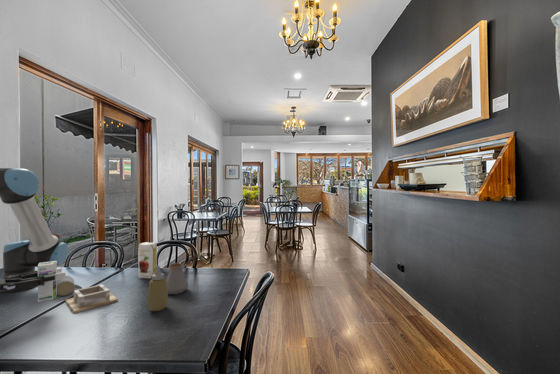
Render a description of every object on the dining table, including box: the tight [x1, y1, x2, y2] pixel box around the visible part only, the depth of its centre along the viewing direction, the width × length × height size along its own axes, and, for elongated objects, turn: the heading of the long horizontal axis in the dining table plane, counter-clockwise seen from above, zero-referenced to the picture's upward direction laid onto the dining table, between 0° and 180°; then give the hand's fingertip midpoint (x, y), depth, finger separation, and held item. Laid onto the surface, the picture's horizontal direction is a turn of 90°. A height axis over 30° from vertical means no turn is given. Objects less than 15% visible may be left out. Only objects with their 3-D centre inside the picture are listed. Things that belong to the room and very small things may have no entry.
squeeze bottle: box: [146, 265, 169, 312], centre depth 116 cm, size 8×8×18 cm
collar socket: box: [65, 283, 119, 314], centre depth 123 cm, size 16×16×5 cm
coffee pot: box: [165, 254, 200, 295], centre depth 140 cm, size 21×12×15 cm, turn 155°
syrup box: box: [37, 261, 58, 303], centre depth 112 cm, size 6×6×14 cm
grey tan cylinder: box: [57, 275, 83, 297], centre depth 132 cm, size 11×8×8 cm
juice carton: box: [137, 241, 158, 280], centre depth 157 cm, size 8×9×19 cm
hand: (63, 273), depth 116 cm, fingers closed on syrup box, 6 cm apart
